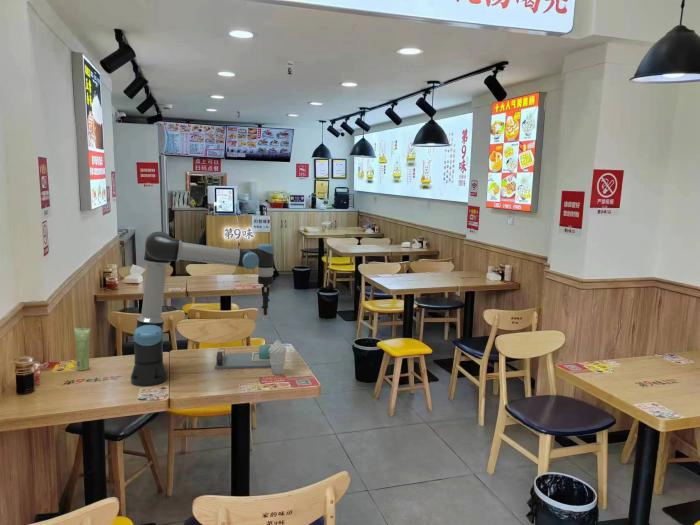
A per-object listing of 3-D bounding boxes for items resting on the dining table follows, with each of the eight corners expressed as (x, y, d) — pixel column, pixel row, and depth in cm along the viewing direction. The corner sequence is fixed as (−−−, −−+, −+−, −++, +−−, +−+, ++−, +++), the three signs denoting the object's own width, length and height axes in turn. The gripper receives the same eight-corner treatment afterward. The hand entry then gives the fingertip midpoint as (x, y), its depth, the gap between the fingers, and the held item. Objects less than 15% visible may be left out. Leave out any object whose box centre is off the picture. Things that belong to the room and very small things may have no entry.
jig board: (215, 369, 245) (215, 365, 244) (219, 355, 264) (219, 352, 264) (279, 367, 249) (279, 363, 249) (278, 354, 269) (278, 351, 268)
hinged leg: (222, 365, 246) (222, 353, 245) (216, 365, 245) (216, 353, 244) (224, 356, 260) (224, 344, 259) (218, 356, 259) (218, 344, 258)
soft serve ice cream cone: (284, 376, 237) (285, 343, 235) (266, 376, 237) (266, 342, 235) (287, 370, 245) (287, 338, 243) (269, 370, 245) (269, 337, 243)
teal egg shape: (258, 359, 256) (258, 348, 255) (259, 355, 262) (259, 345, 262) (271, 359, 257) (271, 348, 256) (271, 355, 263) (271, 344, 263)
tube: (89, 366, 244) (87, 326, 241) (92, 369, 240) (90, 328, 237) (75, 368, 240) (74, 327, 237) (78, 371, 236) (76, 330, 234)
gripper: (273, 279, 242) (273, 324, 245) (273, 271, 267) (272, 311, 270) (257, 279, 241) (257, 324, 244) (258, 271, 266) (258, 312, 269)
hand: (265, 317), depth 257 cm, fingers open, 13 cm apart
